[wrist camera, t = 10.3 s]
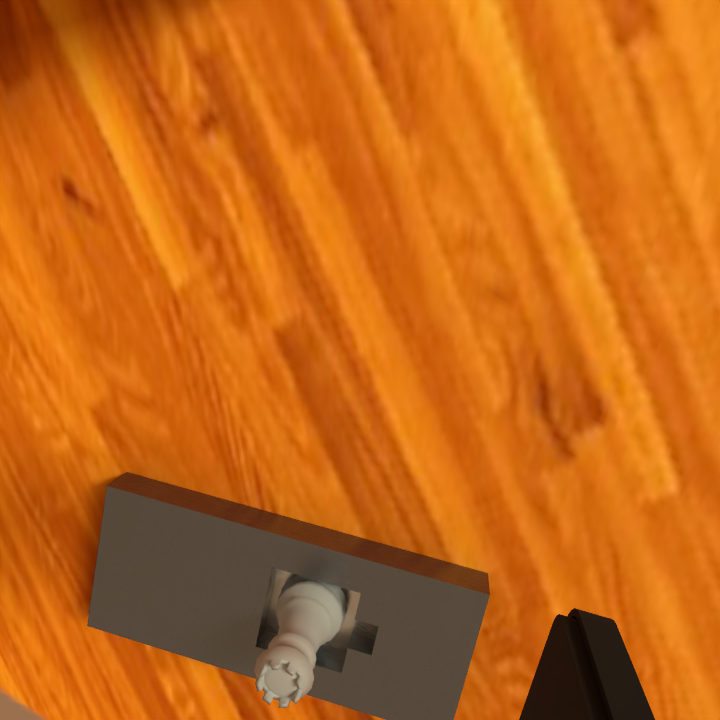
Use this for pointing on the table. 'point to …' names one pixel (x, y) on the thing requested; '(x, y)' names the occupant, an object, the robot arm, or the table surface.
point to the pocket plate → (263, 586)
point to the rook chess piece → (299, 638)
